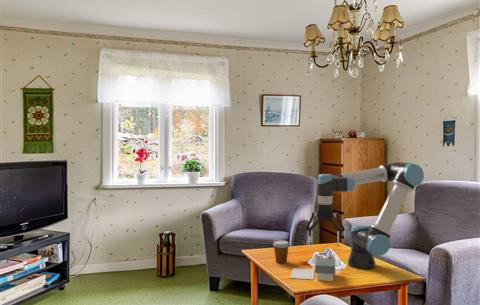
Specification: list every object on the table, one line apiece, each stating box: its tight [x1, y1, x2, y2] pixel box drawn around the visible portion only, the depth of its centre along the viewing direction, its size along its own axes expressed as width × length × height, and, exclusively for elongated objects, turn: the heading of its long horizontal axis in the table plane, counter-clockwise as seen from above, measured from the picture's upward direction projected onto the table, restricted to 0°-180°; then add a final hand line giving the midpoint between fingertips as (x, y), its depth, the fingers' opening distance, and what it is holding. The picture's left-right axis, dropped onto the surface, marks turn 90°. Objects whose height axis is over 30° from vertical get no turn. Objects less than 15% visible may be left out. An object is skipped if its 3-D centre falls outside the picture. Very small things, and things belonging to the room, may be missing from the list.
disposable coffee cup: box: [272, 239, 290, 265], centre depth 241 cm, size 10×10×12 cm
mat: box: [290, 267, 315, 281], centre depth 220 cm, size 12×16×1 cm
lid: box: [314, 257, 336, 275], centre depth 215 cm, size 10×13×4 cm
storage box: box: [316, 273, 334, 282], centre depth 215 cm, size 8×11×7 cm
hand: (324, 243), depth 214 cm, fingers open, 13 cm apart
